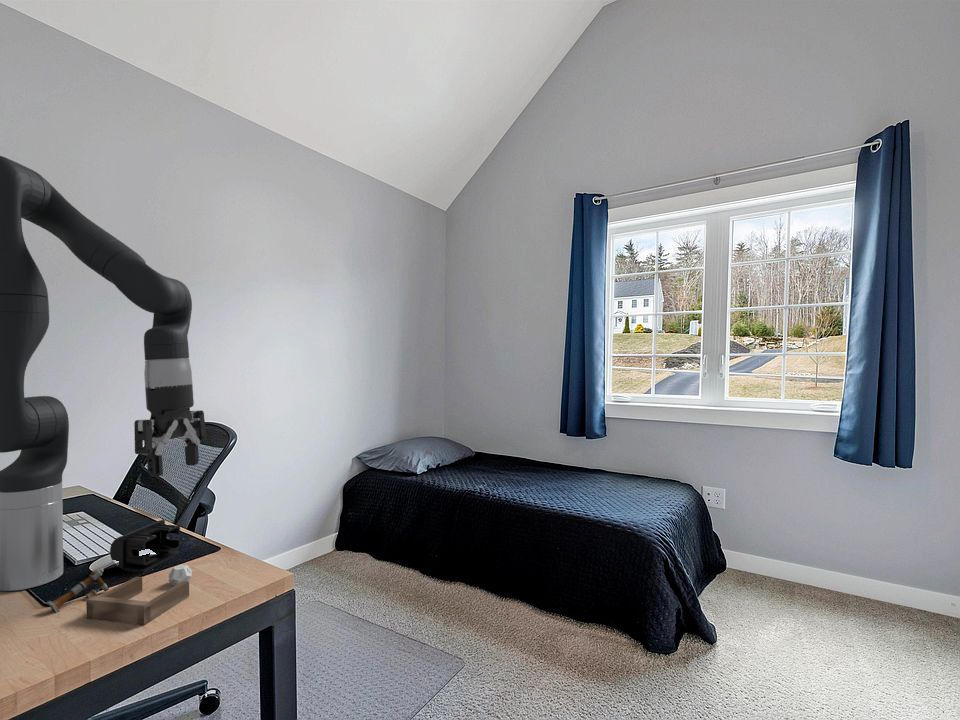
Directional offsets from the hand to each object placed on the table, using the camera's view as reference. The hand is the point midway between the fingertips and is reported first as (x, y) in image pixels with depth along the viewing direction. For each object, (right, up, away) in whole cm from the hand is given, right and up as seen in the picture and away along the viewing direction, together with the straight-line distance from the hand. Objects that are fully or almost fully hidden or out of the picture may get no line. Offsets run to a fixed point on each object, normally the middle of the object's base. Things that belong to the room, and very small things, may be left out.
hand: (174, 470), depth 94 cm
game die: (+3, -20, -3) cm, 20 cm away
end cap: (-9, -20, +6) cm, 22 cm away
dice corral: (+2, -20, -11) cm, 23 cm away
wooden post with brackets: (-10, -20, -10) cm, 25 cm away
